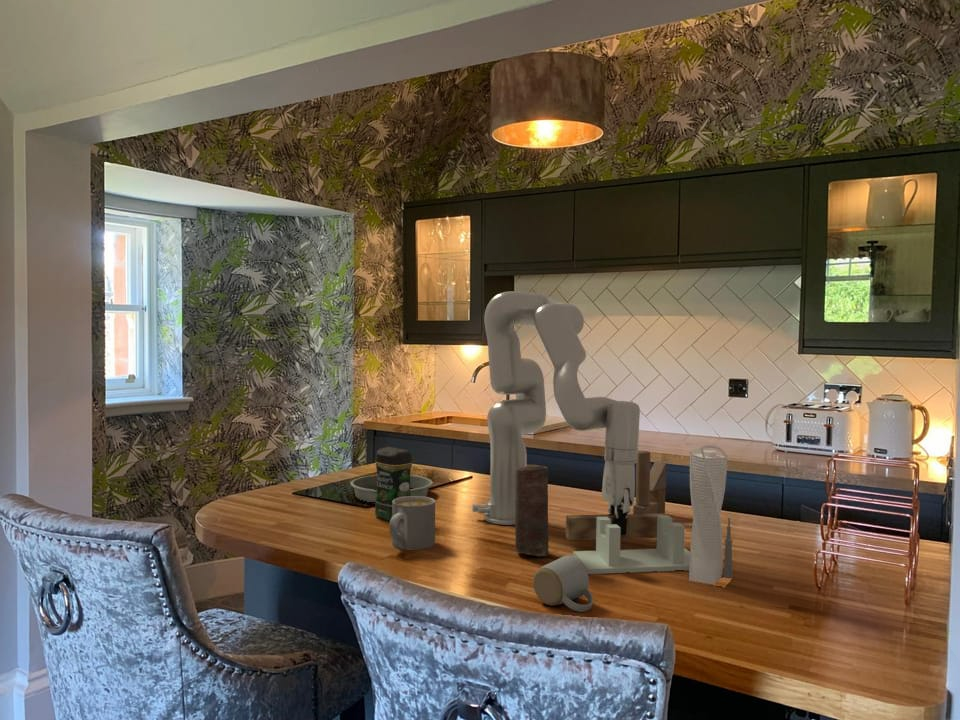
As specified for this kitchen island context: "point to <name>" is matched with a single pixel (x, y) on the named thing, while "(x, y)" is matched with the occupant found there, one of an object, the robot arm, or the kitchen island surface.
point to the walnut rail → (587, 524)
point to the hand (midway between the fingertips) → (617, 532)
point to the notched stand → (636, 550)
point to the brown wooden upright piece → (649, 485)
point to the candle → (532, 510)
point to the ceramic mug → (563, 583)
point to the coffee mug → (413, 522)
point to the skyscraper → (708, 517)
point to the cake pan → (369, 483)
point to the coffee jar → (391, 479)
